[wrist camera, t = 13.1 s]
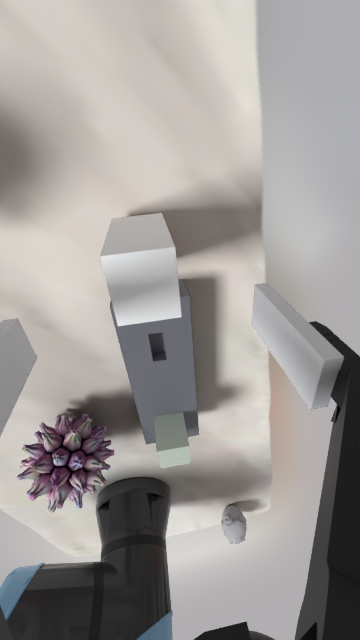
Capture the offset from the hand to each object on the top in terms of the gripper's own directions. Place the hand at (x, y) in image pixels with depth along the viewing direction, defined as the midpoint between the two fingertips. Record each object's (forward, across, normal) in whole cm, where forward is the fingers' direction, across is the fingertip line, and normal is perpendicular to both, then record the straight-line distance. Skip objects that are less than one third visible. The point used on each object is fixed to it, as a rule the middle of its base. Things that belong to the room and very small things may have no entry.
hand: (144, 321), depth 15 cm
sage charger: (+11, 0, +24) cm, 27 cm away
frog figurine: (+16, -11, +67) cm, 70 cm away
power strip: (+15, 0, +21) cm, 26 cm away
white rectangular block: (+14, 0, -1) cm, 15 cm away
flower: (+15, +14, +25) cm, 33 cm away
